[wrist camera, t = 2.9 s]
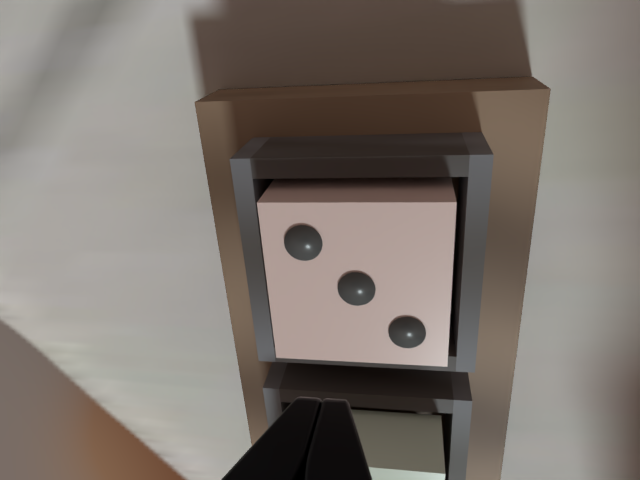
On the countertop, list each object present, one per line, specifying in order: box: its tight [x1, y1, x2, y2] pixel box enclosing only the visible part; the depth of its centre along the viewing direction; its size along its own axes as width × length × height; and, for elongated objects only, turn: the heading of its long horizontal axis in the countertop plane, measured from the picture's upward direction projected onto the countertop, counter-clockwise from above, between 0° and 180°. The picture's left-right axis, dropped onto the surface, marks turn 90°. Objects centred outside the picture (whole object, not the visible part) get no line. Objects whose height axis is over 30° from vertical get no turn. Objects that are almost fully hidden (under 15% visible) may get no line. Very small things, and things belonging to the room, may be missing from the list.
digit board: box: [195, 77, 550, 480], centre depth 18 cm, size 22×9×4 cm, turn 4°
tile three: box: [257, 177, 457, 367], centre depth 13 cm, size 4×4×2 cm
